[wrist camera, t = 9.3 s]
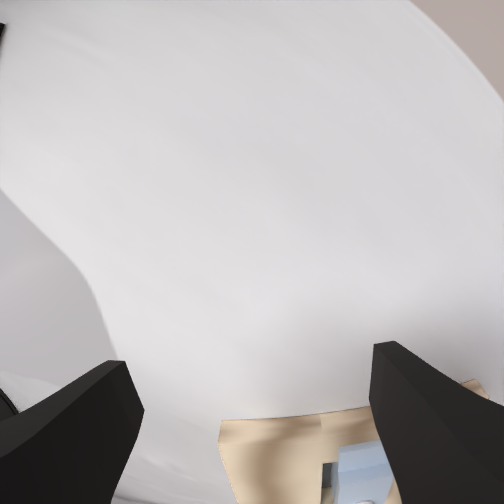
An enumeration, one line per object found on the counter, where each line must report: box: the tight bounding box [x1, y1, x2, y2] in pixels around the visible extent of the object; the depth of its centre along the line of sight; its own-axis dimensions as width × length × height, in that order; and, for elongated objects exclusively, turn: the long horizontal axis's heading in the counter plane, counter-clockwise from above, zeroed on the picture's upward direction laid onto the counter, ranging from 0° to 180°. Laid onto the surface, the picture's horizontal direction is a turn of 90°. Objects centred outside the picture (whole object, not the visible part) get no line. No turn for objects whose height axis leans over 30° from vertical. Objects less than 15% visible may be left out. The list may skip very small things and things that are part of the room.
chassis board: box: [217, 379, 489, 504], centre depth 20 cm, size 20×14×2 cm
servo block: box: [331, 440, 394, 504], centre depth 19 cm, size 4×11×5 cm, turn 8°
